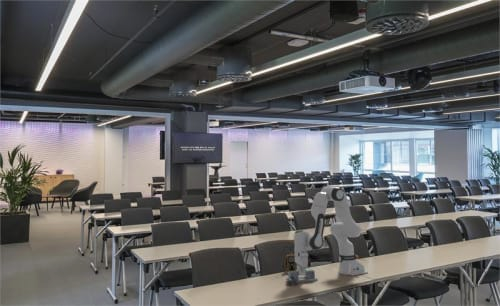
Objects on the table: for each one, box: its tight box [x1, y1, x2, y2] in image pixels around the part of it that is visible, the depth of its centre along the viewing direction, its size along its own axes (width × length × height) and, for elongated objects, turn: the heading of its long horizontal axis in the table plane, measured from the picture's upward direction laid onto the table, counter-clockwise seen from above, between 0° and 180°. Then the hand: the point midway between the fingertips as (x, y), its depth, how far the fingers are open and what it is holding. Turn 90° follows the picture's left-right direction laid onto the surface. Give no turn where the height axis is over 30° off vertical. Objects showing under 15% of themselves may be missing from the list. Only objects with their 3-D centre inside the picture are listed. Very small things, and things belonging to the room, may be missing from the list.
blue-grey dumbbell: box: [285, 268, 319, 283], centre depth 289 cm, size 22×7×7 cm, turn 101°
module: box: [296, 264, 306, 277], centre depth 289 cm, size 4×5×7 cm
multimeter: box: [282, 245, 297, 274], centre depth 314 cm, size 15×10×20 cm
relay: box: [286, 278, 298, 286], centre depth 280 cm, size 6×4×4 cm, turn 92°
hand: (301, 271), depth 289 cm, fingers closed on module, 4 cm apart
